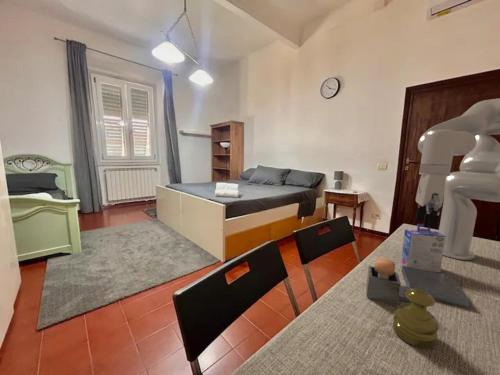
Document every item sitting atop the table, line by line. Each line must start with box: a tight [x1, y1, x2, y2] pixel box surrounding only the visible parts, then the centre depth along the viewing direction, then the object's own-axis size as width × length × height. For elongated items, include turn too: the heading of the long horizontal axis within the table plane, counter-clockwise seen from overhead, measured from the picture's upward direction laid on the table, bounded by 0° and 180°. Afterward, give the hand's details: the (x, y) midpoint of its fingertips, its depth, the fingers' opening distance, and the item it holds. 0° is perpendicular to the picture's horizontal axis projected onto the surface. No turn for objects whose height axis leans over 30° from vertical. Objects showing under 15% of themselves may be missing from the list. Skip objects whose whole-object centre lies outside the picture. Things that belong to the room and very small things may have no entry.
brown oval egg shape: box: [374, 257, 396, 280], centre depth 58 cm, size 4×4×6 cm
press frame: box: [365, 265, 470, 309], centre depth 62 cm, size 21×22×6 cm
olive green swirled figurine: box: [392, 288, 440, 350], centre depth 46 cm, size 7×7×10 cm
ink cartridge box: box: [401, 223, 446, 273], centre depth 74 cm, size 10×6×14 cm, turn 79°
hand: (425, 223), depth 72 cm, fingers open, 9 cm apart
